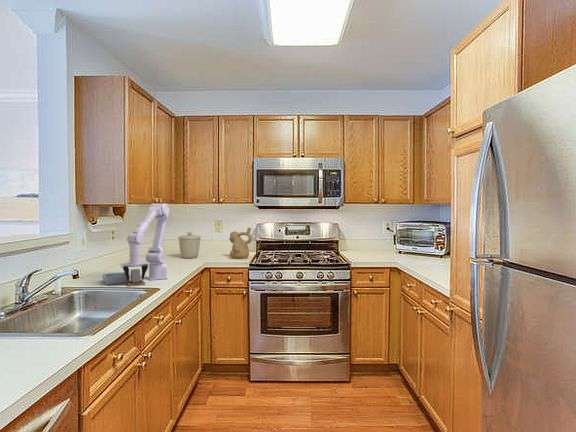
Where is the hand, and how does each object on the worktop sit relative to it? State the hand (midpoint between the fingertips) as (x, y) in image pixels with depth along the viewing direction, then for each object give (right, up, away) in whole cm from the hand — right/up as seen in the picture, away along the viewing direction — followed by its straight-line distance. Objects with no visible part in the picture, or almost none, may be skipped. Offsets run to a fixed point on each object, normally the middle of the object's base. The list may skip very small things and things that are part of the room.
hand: (135, 279), depth 206 cm
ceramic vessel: (+44, 0, +101) cm, 110 cm away
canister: (+4, +1, +100) cm, 100 cm away
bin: (-13, -2, +5) cm, 14 cm away
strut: (0, -2, 0) cm, 2 cm away
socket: (0, -2, 0) cm, 2 cm away
